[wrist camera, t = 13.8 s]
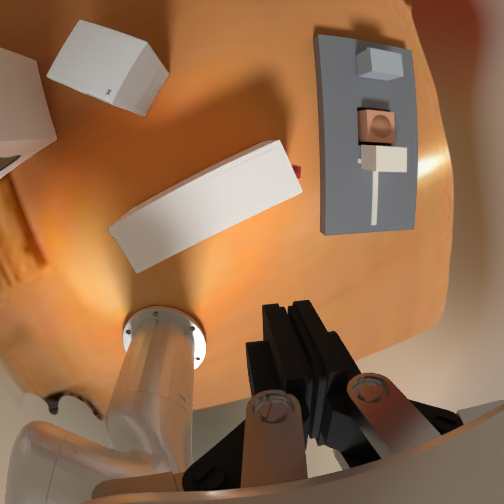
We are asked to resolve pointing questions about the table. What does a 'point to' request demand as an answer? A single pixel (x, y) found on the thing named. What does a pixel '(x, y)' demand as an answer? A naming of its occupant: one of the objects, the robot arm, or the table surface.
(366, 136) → the terracotta button
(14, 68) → the gable box
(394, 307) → the table surface
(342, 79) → the panel
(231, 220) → the cigarette display
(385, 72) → the blue-grey slider
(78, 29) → the small box
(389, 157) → the cream slider
